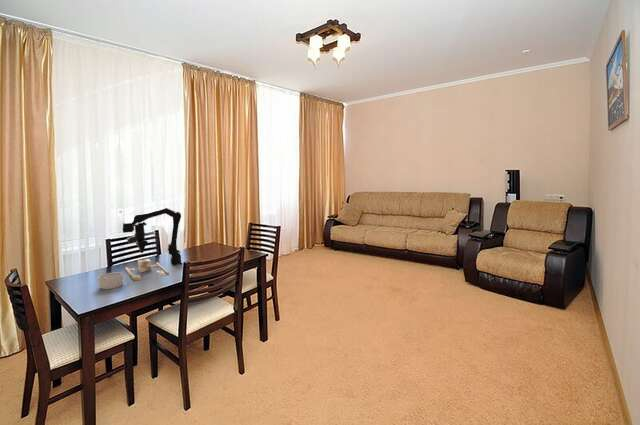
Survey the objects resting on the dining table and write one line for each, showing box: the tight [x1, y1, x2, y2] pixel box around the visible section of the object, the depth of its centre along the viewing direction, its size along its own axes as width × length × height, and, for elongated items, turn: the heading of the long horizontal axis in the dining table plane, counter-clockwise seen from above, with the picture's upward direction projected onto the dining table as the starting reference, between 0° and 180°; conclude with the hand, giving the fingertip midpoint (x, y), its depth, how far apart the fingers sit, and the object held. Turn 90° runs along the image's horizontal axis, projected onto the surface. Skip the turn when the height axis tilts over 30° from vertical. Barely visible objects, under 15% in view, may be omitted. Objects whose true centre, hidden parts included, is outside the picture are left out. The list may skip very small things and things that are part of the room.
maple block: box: [137, 258, 152, 273], centre depth 236 cm, size 7×7×7 cm
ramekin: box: [97, 271, 124, 290], centre depth 203 cm, size 13×13×7 cm
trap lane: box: [125, 261, 170, 282], centre depth 232 cm, size 21×32×2 cm, turn 38°
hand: (141, 252), depth 241 cm, fingers closed
